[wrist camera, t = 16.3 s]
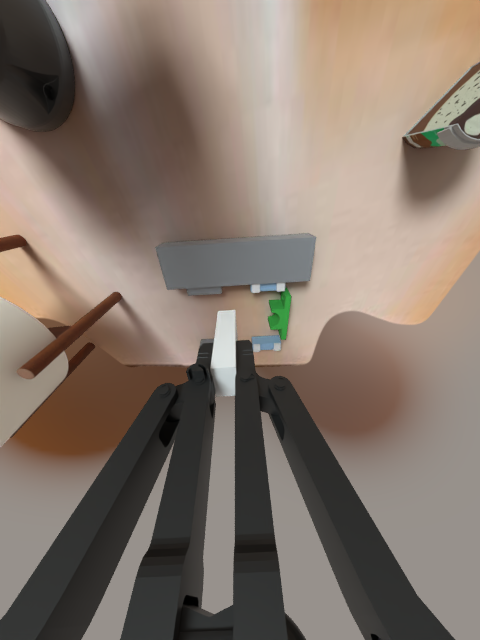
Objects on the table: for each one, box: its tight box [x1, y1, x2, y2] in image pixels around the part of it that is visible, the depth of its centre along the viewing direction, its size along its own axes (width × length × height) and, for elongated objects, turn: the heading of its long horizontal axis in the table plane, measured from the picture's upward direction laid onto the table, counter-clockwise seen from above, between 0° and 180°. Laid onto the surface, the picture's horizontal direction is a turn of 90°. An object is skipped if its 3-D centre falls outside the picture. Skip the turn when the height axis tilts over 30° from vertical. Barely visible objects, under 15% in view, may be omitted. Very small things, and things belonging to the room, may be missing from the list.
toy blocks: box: [155, 233, 316, 352], centre depth 43 cm, size 28×26×4 cm
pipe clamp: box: [268, 287, 291, 340], centre depth 44 cm, size 11×4×5 cm, turn 2°
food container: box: [403, 62, 480, 150], centre depth 25 cm, size 12×6×10 cm, turn 139°
